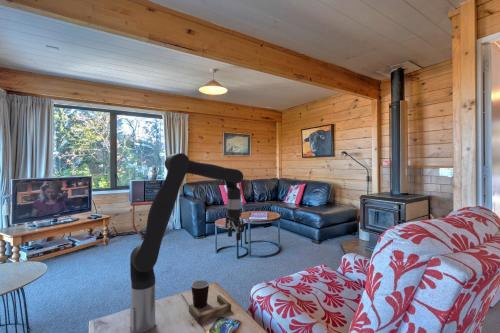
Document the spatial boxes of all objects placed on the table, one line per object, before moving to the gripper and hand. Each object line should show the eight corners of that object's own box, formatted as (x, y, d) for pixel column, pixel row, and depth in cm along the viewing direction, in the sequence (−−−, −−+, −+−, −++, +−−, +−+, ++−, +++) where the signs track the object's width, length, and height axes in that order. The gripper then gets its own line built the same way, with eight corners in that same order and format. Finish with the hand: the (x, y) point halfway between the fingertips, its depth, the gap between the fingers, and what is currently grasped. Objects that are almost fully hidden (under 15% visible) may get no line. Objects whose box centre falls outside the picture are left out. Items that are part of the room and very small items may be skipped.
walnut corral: (198, 323, 105) (198, 316, 105) (189, 311, 114) (189, 305, 114) (231, 311, 114) (231, 304, 114) (219, 300, 123) (219, 294, 123)
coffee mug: (207, 310, 115) (207, 288, 115) (189, 309, 115) (189, 288, 115) (211, 297, 126) (211, 277, 127) (195, 297, 127) (195, 277, 127)
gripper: (221, 206, 134) (221, 236, 133) (235, 209, 122) (235, 242, 122) (233, 205, 138) (233, 234, 138) (247, 208, 126) (247, 240, 126)
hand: (234, 238), depth 130 cm, fingers open, 8 cm apart
